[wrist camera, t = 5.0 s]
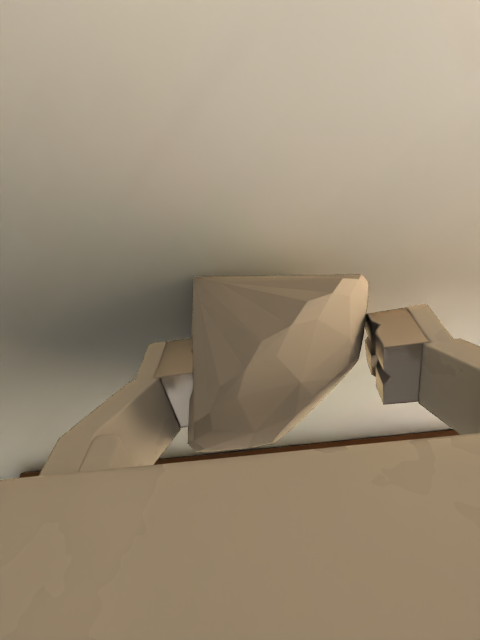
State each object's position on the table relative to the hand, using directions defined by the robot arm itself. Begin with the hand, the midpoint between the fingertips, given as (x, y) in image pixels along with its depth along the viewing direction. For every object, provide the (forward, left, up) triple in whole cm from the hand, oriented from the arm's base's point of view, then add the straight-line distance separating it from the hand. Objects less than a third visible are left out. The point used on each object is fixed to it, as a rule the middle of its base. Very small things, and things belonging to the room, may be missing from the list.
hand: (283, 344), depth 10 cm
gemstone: (0, 0, -2) cm, 2 cm away
